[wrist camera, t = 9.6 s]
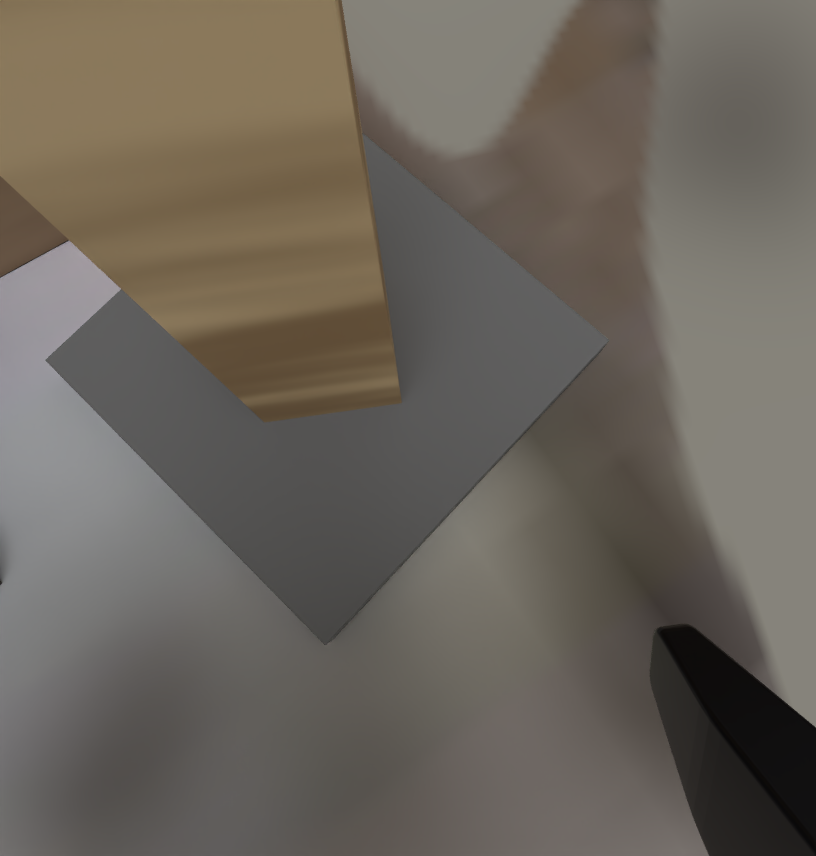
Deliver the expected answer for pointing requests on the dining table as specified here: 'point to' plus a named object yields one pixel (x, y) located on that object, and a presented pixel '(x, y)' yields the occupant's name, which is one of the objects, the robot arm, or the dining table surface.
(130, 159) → the tan tall rectangular block
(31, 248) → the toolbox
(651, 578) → the dining table surface
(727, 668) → the robot arm
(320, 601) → the rubber mat
